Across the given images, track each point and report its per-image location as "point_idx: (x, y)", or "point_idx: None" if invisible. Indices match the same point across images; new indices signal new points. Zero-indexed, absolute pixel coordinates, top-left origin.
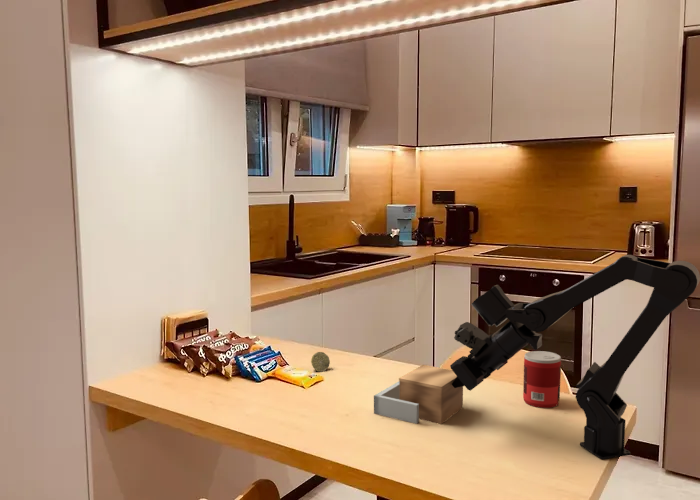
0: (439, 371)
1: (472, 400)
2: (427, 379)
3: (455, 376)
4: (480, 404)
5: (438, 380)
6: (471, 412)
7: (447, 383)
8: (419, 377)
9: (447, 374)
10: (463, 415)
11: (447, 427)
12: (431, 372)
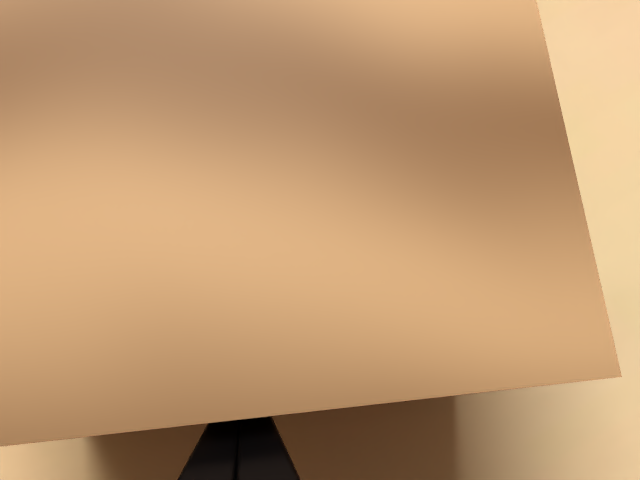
0: (417, 91)
1: (625, 347)
2: (24, 135)
3: (378, 375)
4: (602, 438)
5: (69, 273)
6: (419, 466)
7: (34, 442)
8: (45, 19)
9: (380, 236)
10: (329, 448)
11: (56, 474)
12: (315, 34)
